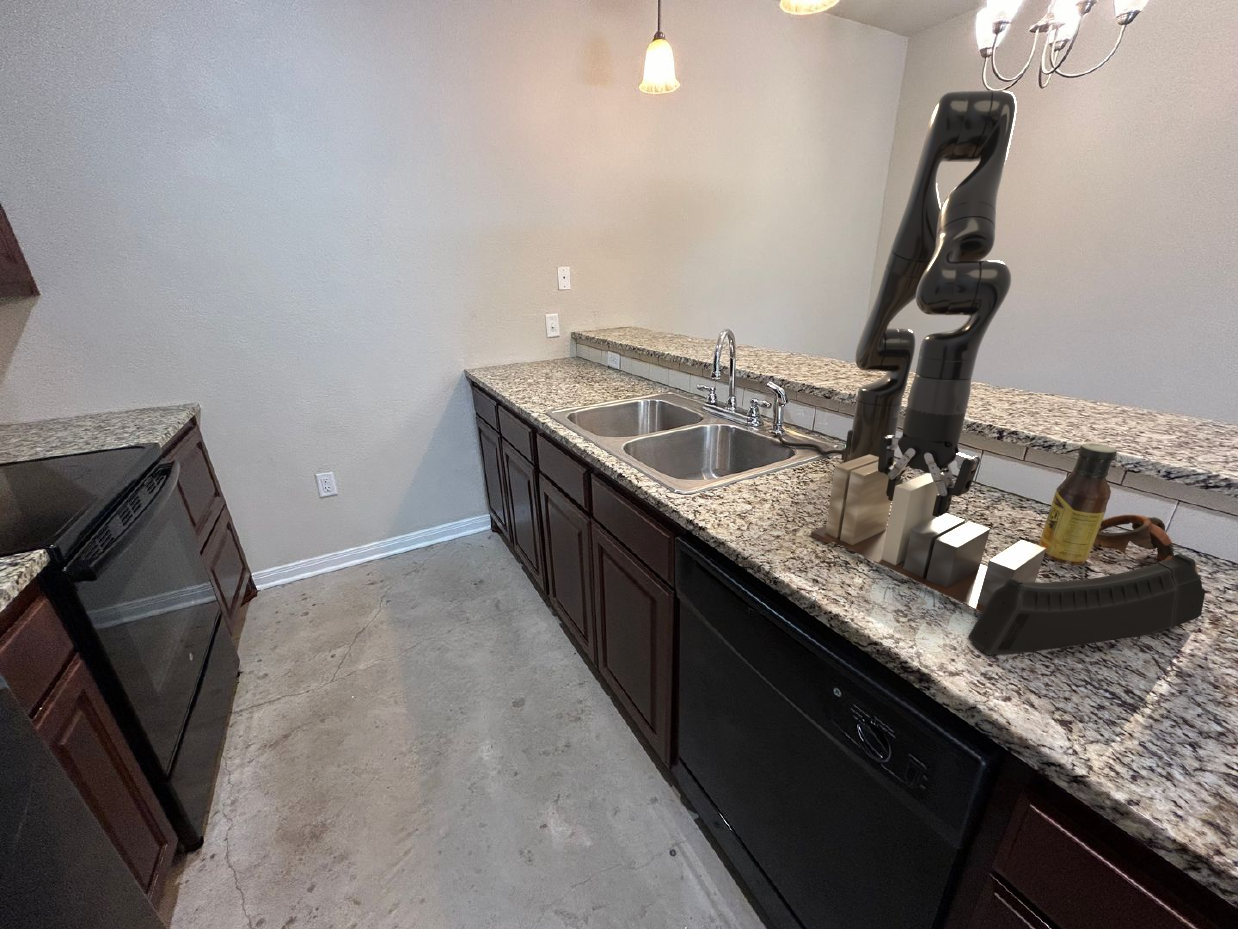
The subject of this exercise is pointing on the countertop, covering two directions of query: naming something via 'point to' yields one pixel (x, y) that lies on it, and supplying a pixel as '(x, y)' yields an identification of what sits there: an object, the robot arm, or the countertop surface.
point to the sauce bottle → (1079, 507)
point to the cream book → (908, 515)
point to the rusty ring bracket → (1136, 535)
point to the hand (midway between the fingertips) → (914, 507)
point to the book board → (921, 539)
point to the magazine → (1089, 608)
